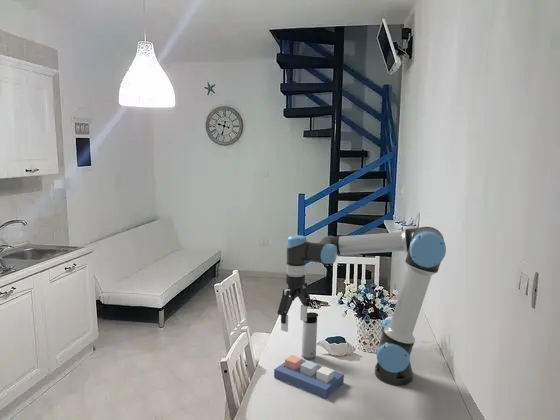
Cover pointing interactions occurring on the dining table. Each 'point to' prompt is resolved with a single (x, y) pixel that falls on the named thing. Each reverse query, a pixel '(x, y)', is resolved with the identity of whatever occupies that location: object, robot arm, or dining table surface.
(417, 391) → the dining table surface
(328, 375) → the key ivory
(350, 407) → the dining table surface
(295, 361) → the key coral
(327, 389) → the board
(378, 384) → the dining table surface
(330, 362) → the dining table surface
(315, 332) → the travel mug
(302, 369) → the key grey
